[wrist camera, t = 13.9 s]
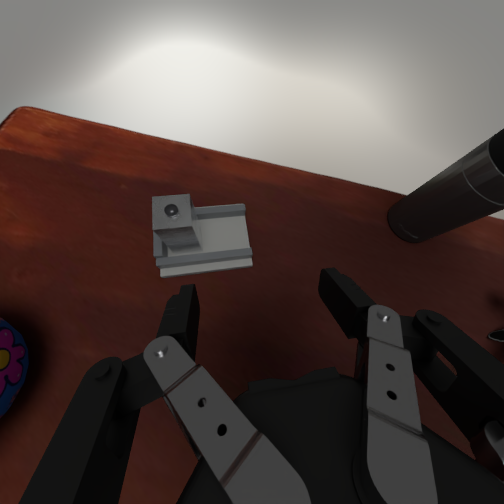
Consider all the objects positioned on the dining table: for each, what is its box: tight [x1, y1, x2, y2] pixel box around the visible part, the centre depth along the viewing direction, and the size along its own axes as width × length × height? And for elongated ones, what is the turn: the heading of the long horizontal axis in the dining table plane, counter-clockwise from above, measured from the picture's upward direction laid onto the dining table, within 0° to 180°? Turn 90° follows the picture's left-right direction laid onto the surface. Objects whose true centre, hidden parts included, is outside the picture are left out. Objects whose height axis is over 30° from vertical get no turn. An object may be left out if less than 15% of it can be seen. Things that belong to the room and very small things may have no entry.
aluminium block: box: [152, 194, 203, 255], centre depth 30 cm, size 5×5×10 cm
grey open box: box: [153, 204, 253, 278], centre depth 34 cm, size 15×12×4 cm
